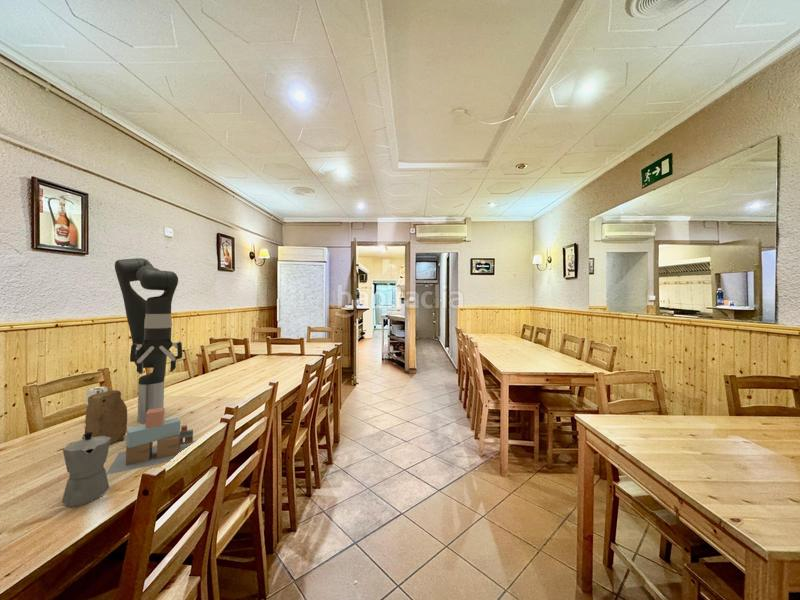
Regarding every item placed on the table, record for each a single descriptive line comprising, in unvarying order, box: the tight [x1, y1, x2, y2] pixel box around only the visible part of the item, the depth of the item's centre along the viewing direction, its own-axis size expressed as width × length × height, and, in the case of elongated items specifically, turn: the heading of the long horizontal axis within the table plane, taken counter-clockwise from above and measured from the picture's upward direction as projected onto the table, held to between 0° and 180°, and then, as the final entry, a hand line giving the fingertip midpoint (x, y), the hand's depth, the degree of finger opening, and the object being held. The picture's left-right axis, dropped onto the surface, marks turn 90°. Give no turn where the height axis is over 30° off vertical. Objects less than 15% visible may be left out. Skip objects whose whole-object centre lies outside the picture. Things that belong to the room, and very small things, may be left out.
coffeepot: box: [61, 432, 111, 508], centre depth 84 cm, size 15×9×18 cm, turn 49°
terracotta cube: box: [145, 407, 165, 428], centre depth 105 cm, size 4×4×5 cm
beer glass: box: [85, 386, 109, 407], centre depth 134 cm, size 7×7×15 cm
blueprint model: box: [180, 424, 196, 446], centre depth 114 cm, size 4×7×7 cm, turn 122°
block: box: [84, 389, 128, 446], centre depth 114 cm, size 11×8×20 cm
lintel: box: [125, 416, 181, 448], centre depth 105 cm, size 5×14×5 cm, turn 138°
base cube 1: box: [125, 442, 154, 465], centre depth 103 cm, size 6×6×6 cm
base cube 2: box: [156, 435, 180, 459], centre depth 107 cm, size 6×6×6 cm
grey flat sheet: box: [106, 439, 190, 476], centre depth 106 cm, size 16×22×1 cm
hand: (156, 372), depth 105 cm, fingers open, 8 cm apart
